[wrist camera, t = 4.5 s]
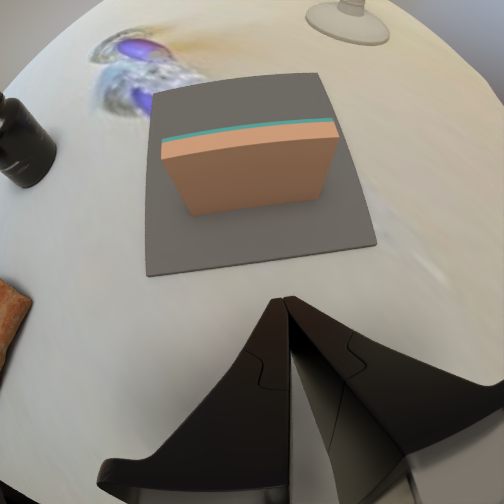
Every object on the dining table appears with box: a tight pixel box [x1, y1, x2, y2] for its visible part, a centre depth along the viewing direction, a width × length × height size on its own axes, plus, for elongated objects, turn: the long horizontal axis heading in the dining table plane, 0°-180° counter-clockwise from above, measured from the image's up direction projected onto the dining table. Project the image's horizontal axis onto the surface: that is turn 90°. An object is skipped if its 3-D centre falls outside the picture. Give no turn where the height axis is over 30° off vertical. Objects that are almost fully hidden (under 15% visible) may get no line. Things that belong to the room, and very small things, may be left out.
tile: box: [161, 118, 339, 216], centre depth 19 cm, size 2×10×8 cm, turn 98°
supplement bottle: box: [0, 92, 56, 187], centre depth 21 cm, size 7×7×12 cm
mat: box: [145, 73, 377, 277], centre depth 25 cm, size 20×18×1 cm
